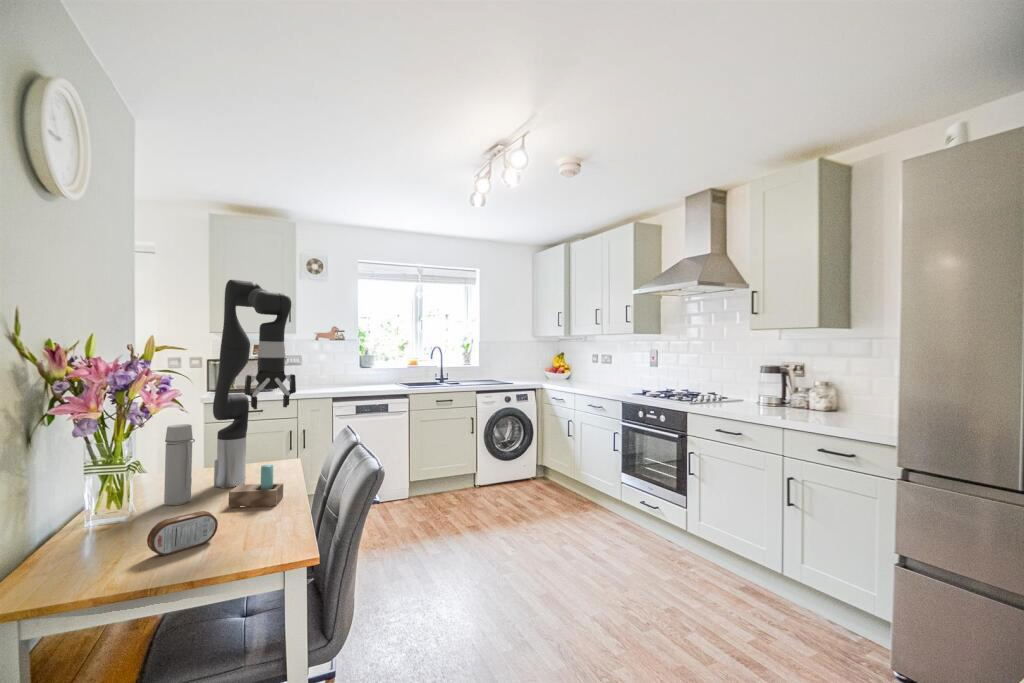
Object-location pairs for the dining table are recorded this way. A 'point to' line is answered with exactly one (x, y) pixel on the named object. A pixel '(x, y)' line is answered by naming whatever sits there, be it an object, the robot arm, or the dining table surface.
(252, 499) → the socket
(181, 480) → the water bottle
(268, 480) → the peg
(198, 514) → the tin
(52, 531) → the dining table surface
